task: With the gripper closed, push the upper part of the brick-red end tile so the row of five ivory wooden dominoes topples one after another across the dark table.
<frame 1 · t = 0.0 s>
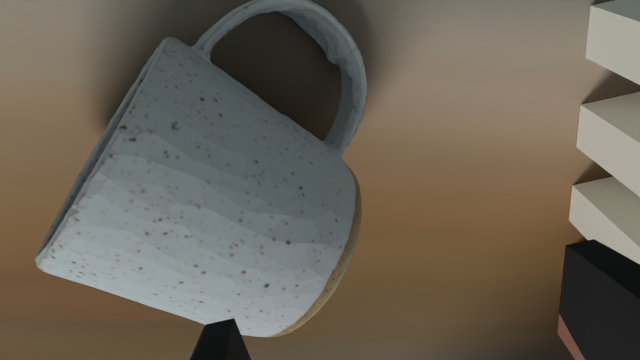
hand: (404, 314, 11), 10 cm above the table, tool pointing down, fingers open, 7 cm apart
domino 1: (602, 311, 27), on the table
domino 4: (636, 113, 21), on the table
domino 3: (623, 191, 23), on the table
ceramic mug: (232, 119, 19), on the table
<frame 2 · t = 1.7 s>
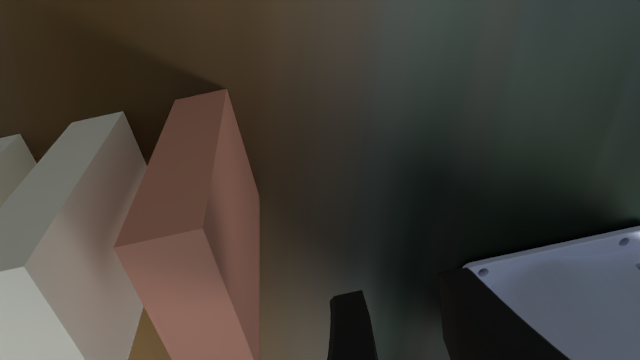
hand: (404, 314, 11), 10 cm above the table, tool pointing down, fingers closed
domino 1: (220, 151, 20), on the table
domino 2: (123, 172, 20), on the table
domino 3: (26, 193, 20), on the table
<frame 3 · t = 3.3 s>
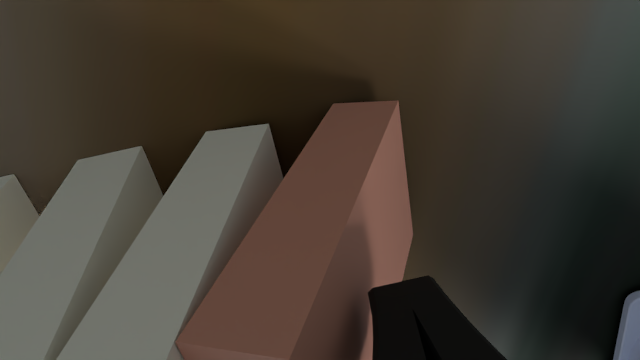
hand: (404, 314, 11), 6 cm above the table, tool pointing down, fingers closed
domino 1: (375, 172, 16), on the table, tilted 24°
domino 4: (23, 243, 16), on the table
domino 2: (257, 195, 16), on the table, tilted 12°
domino 3: (140, 217, 16), on the table
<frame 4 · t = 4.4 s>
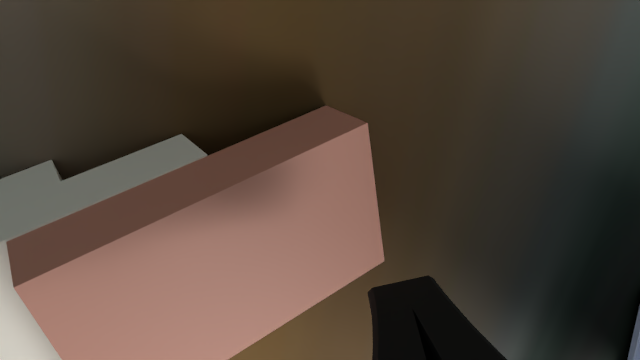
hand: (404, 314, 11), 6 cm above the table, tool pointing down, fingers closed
domino 1: (356, 185, 15), point 1 cm above the table, tilted 62°, touching domino 2
domino 2: (217, 214, 15), point 1 cm above the table, tilted 62°, touching domino 1, domino 3
domino 3: (92, 238, 15), point 1 cm above the table, tilted 63°, touching domino 2
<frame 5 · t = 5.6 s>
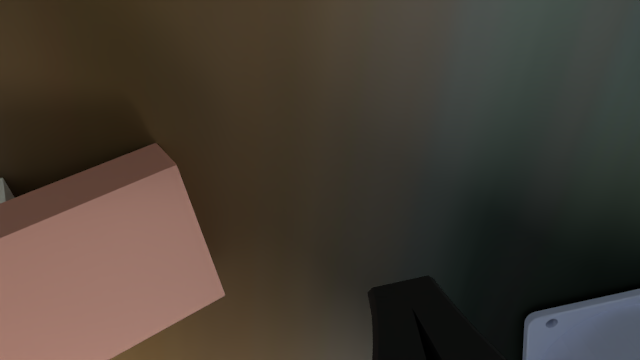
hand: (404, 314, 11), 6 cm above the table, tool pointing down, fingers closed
domino 1: (191, 221, 15), point 1 cm above the table, tilted 63°, touching domino 2
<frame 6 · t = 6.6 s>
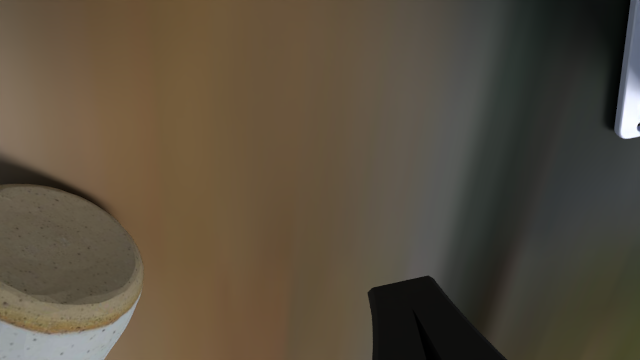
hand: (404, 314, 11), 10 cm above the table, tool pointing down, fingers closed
ceramic mug: (17, 241, 21), on the table
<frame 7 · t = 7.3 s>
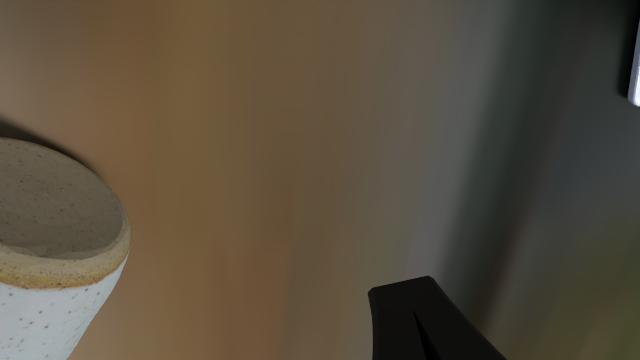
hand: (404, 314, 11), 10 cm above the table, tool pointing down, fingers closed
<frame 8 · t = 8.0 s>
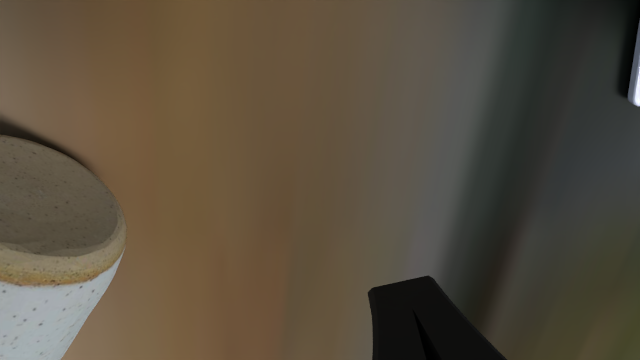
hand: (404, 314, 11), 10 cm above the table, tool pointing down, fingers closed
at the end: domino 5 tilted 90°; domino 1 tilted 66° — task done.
